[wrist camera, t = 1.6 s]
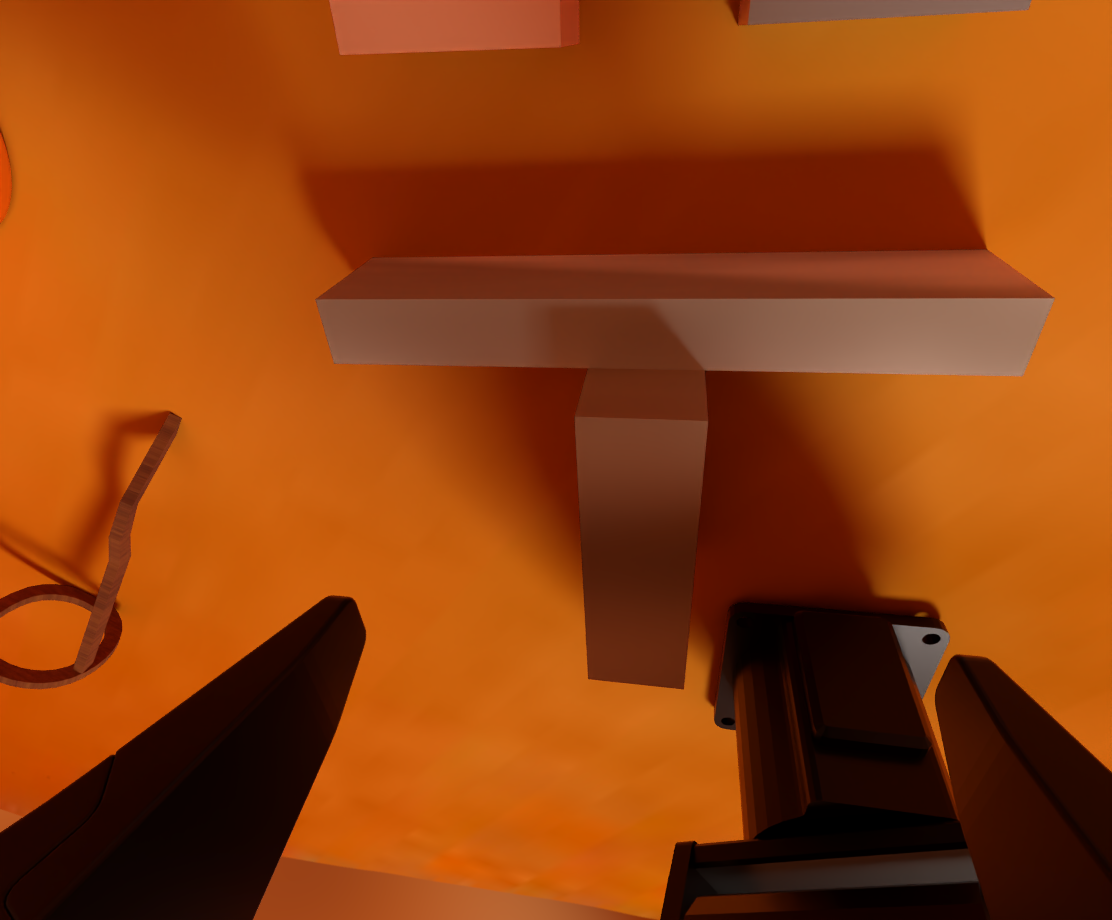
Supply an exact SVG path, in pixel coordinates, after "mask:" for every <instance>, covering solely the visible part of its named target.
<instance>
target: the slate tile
mask: <svg viewBox="0 0 1112 920" xmlns="http://www.w3.org/2000/svg"><path fill="white" fill-rule="evenodd" d="M1030 3H1031V0H740V8H739V17H738V25H756V24H774V23H793V22H812V21H830V20H849V19H868V18H886V17H905V16H924V15H943V14H961V13H980V12H999V11H1017V10H1028V9H1029V6H1030Z"/></svg>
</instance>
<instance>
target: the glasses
mask: <svg viewBox="0 0 1112 920" xmlns="http://www.w3.org/2000/svg"><path fill="white" fill-rule="evenodd" d="M180 422H181V418H180V417H178V416H176V415H173V414H171V413H170V414H169V415H168V417H167V419H166V421H165V422H164V424H163V426H162V428H161V430H160V431H159V433H158V435H157V437H156V439H155V440H154V442H153V444H152V446H151V447H150V449H149V451H148V453H147V455H146V456H145V458H144V460H143V462H142V463H141V465H140V467H139V469H138V471H137V472H136V474H135V476H134V478H133V480H132V481H131V483H130V485H129V487H128V489H127V490H126V492H125V494H124V496H123V497H122V499H121V501H120V504H119V507H118V510H117V513H116V516H115V519H114V522H113V526H112V529H111V532H110V535H109V562H108V565H107V568H106V571H105V574H104V577H103V580H102V583H101V586H100V589H99V592H98V595H97V598H96V597H94V596H92V595H90V594H88V593H86V592H83V591H81V590H79V589H77V588H75V587H72V586H66V585H58V584H42V585H37V586H31V587H27V588H24V589H22V590H19V591H16V592H14V593H11V594H9V595H7V596H5V597H3V598H1V599H0V618H1V617H2V616H4V615H5V614H7V613H8V612H10V611H12V610H14V609H16V608H18V607H20V606H23V605H25V604H28V603H31V602H36V601H41V600H58V601H65V602H69V603H73V604H76V605H79V606H81V607H84V608H85V609H87V610H89V611H91V612H92V613H91V616H90V619H89V622H88V625H87V628H86V631H85V634H84V637H83V640H82V643H81V646H80V649H79V652H78V655H77V658H76V661H75V664H73V665H70V666H68V667H64V668H60V669H56V670H46V671H41V670H30V669H25V668H20V667H17V666H14V665H12V664H9V663H7V662H5V661H4V660H2V659H0V682H1V683H4V684H7V685H10V686H15V687H20V688H28V689H46V688H56V687H60V686H63V685H67V684H71V683H73V682H75V681H77V680H80V679H82V678H84V677H86V676H87V675H89V674H91V673H92V672H94V671H95V670H97V669H98V668H99V667H100V666H101V665H102V664H104V663H105V662H106V661H107V660H108V658H109V657H110V656H111V655H112V654H113V652H114V650H115V648H116V647H117V645H118V642H119V640H120V636H121V633H122V621H121V618H120V616H119V614H118V612H117V611H116V610H115V609H114V607H113V605H114V602H115V599H116V596H117V593H118V591H119V588H120V585H121V582H122V579H123V576H124V574H125V571H126V568H127V565H128V562H129V559H130V557H131V545H130V533H131V529H132V525H133V521H134V517H135V513H136V509H137V505H138V503H139V501H140V499H141V497H142V495H143V494H144V492H145V490H146V488H147V486H148V485H149V483H150V481H151V479H152V477H153V476H154V474H155V472H156V470H157V469H158V467H159V465H160V463H161V461H162V460H163V458H164V456H165V454H166V452H167V451H168V449H169V447H170V445H171V443H172V442H173V440H174V438H175V436H176V434H177V431H178V428H179V425H180ZM103 633H104V634H105V636H104V639H103V640H102V642H101V639H102V636H103ZM100 642H101V644H100Z"/></svg>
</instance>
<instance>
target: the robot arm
mask: <svg viewBox="0 0 1112 920" xmlns="http://www.w3.org/2000/svg"><path fill="white" fill-rule="evenodd" d="M741 617H747V618H741ZM949 639H950V636H949V633H948V631H947V629H946V627H945V625H944V623H943V622H942V621H940V620H938V619H934V618H926V617H914V616H902V615H890V614H878V613H866V612H854V611H842V610H830V609H819V608H807V607H795V606H783V605H771V604H759V603H747V602H743V603H737V604H734V605H732V606H731V607H730V608H729V610H728V614H727V621H726V628H725V635H724V642H723V649H722V657H721V664H720V671H719V678H718V685H717V692H716V699H715V706H714V721H715V724H716V725H717V726H719V727H721V728H724V729H730V730H736V738H737V752H738V766H739V779H740V793H741V807H742V821H743V835H744V840H738V841H727V842H716V843H705V844H697V842H695V841H687V842H677V843H676V845H675V849H674V854H673V859H672V864H671V869H670V874H669V877H668V883H667V888H666V893H665V898H664V903H663V908H662V914H661V919H660V920H1112V772H1111V771H1110V770H1109V769H1108V768H1107V767H1105V766H1104V765H1103V764H1102V763H1101V762H1100V761H1099V760H1098V759H1097V758H1096V757H1095V756H1094V755H1093V754H1092V753H1090V752H1089V751H1088V750H1087V749H1086V748H1085V747H1084V746H1083V745H1082V744H1081V743H1080V742H1079V741H1078V740H1077V739H1075V738H1074V737H1073V736H1072V735H1071V734H1070V733H1069V732H1068V731H1067V730H1066V729H1065V728H1064V727H1063V726H1062V725H1060V724H1059V723H1058V722H1057V721H1056V720H1055V719H1054V718H1053V717H1052V716H1051V715H1050V714H1049V713H1048V712H1047V711H1045V710H1044V709H1043V708H1042V707H1041V706H1040V705H1039V704H1038V703H1037V702H1036V701H1035V700H1034V699H1033V698H1032V697H1030V696H1029V695H1028V694H1027V693H1026V692H1025V691H1024V690H1023V689H1022V688H1021V687H1020V686H1019V685H1018V684H1017V683H1015V682H1014V681H1013V680H1012V679H1011V678H1010V677H1009V676H1008V675H1007V674H1006V673H1005V672H1004V671H1003V670H1002V669H1000V668H999V667H998V666H997V665H996V664H995V663H994V662H993V661H991V660H990V659H988V658H985V657H981V656H971V655H960V654H959V655H955V656H953V657H952V658H951V659H950V661H949V663H948V665H947V667H946V669H945V671H944V673H943V676H942V678H941V680H940V682H939V684H938V686H937V689H936V693H935V706H936V711H937V716H938V721H939V726H940V731H941V736H942V741H943V746H944V751H945V756H946V761H947V765H948V770H949V775H950V778H949V775H948V772H947V769H946V766H945V764H944V761H943V758H942V755H941V752H940V749H939V747H938V744H937V741H936V738H935V735H934V732H933V730H932V727H931V724H930V721H929V718H928V715H927V713H926V710H925V707H924V704H923V701H922V699H923V697H924V694H925V692H926V690H927V688H928V686H929V684H930V681H931V679H932V677H933V675H934V673H935V671H936V669H937V666H938V664H939V662H940V660H941V658H942V656H943V653H944V651H945V649H946V647H947V645H948V643H949ZM365 640H366V630H365V626H364V624H363V621H362V618H361V615H360V612H359V610H358V607H357V604H356V602H355V600H354V599H353V598H351V597H345V596H334V595H333V596H328V597H326V598H324V599H322V600H321V601H320V602H318V603H317V604H316V605H314V606H313V607H312V608H310V609H309V610H308V611H306V612H305V613H303V614H302V615H301V616H299V617H298V618H297V619H295V620H294V621H293V622H291V623H290V624H289V625H287V626H286V627H284V628H283V629H282V630H280V631H279V632H278V633H276V634H275V635H274V636H272V637H271V638H269V639H268V640H267V641H265V642H264V643H263V644H261V645H260V646H259V647H257V648H256V649H255V650H253V651H252V652H250V653H249V654H248V655H246V656H245V657H244V658H242V659H241V660H240V661H238V662H237V663H236V664H234V665H233V666H231V667H230V668H229V669H227V670H226V671H225V672H223V673H222V674H221V675H219V676H218V677H217V678H215V679H214V680H212V681H211V682H210V683H208V684H207V685H206V686H204V687H203V688H202V689H200V690H199V691H197V692H196V693H195V694H193V695H192V696H191V697H189V698H188V699H187V700H185V701H184V702H183V703H181V704H180V705H178V706H177V707H176V708H174V709H173V710H172V711H170V712H169V713H168V714H166V715H165V716H164V717H162V718H161V719H159V720H158V721H157V722H155V723H154V724H153V725H151V726H150V727H149V728H147V729H146V730H144V731H143V732H142V733H140V734H139V735H138V736H136V737H135V738H134V739H132V740H131V741H130V742H128V743H127V744H125V745H124V746H123V747H121V748H120V749H119V750H118V751H117V752H116V754H115V755H110V756H109V757H108V758H106V759H105V760H103V761H102V762H101V763H99V764H98V765H97V766H95V767H94V768H93V769H91V770H90V771H89V772H87V773H86V774H84V775H83V776H82V777H80V778H79V779H77V780H76V781H75V782H73V783H72V784H70V785H69V786H68V787H66V788H65V789H63V790H62V791H61V792H59V793H58V794H56V795H55V796H54V797H52V798H51V799H49V800H48V801H46V802H45V803H44V804H42V805H41V806H39V807H38V808H36V809H35V810H33V811H32V812H30V813H29V814H27V815H26V816H24V817H23V818H21V819H20V820H18V821H17V822H15V823H14V824H12V825H11V826H9V827H8V828H6V829H5V830H3V831H2V832H0V920H253V918H254V916H255V914H256V911H257V909H258V907H259V904H260V902H261V900H262V898H263V896H264V893H265V891H266V888H267V886H268V884H269V882H270V880H271V877H272V875H273V873H274V871H275V868H276V866H277V864H278V861H279V859H280V857H281V855H282V853H283V850H284V848H285V846H286V844H287V841H288V839H289V837H290V835H291V832H292V830H293V828H294V826H295V823H296V821H297V819H298V817H299V814H300V812H301V810H302V808H303V805H304V803H305V801H306V799H307V796H308V794H309V792H310V790H311V787H312V785H313V783H314V781H315V778H316V776H317V774H318V772H319V769H320V767H321V765H322V763H323V760H324V758H325V756H326V754H327V751H328V749H329V747H330V744H331V742H332V740H333V737H334V735H335V732H336V730H337V727H338V724H339V721H340V719H341V716H342V713H343V710H344V706H345V703H346V700H347V697H348V694H349V691H350V688H351V685H352V682H353V679H354V676H355V673H356V670H357V667H358V664H359V660H360V657H361V654H362V651H363V648H364V645H365ZM950 780H951V781H950Z"/></svg>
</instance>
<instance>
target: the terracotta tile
mask: <svg viewBox="0 0 1112 920" xmlns="http://www.w3.org/2000/svg"><path fill="white" fill-rule="evenodd" d="M329 2H330V7H331V12H332V17H333V22H334V27H335V32H336V37H337V42H338V47H339V52H340V55H355V54H383V53H412V52H440V51H468V50H496V49H525V48H553V47H565V46H570V45H575V44H579V0H329Z"/></svg>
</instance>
